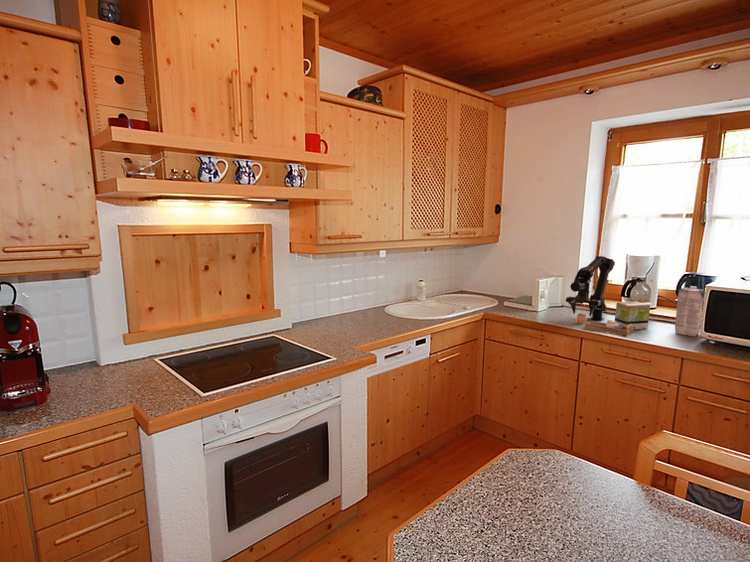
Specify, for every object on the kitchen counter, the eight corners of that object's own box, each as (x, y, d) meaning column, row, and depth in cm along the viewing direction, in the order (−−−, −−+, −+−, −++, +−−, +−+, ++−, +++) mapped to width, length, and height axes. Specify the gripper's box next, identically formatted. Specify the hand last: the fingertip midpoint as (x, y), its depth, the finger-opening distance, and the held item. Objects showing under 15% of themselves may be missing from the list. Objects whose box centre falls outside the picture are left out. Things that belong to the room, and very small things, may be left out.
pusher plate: (618, 330, 239) (619, 323, 239) (623, 331, 238) (624, 324, 237) (615, 333, 235) (615, 325, 234) (620, 334, 233) (620, 326, 232)
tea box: (627, 330, 240) (630, 305, 238) (613, 326, 250) (615, 302, 247) (648, 328, 244) (650, 304, 242) (633, 324, 254) (635, 300, 251)
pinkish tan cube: (578, 322, 260) (579, 312, 259) (587, 323, 256) (588, 314, 255) (574, 323, 256) (575, 314, 256) (584, 325, 253) (585, 315, 252)
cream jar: (607, 329, 243) (608, 319, 242) (617, 331, 239) (618, 321, 238) (604, 331, 239) (605, 321, 238) (614, 333, 235) (615, 322, 234)
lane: (590, 325, 252) (590, 317, 251) (632, 332, 236) (633, 324, 235) (584, 328, 245) (584, 320, 244) (627, 336, 229) (628, 327, 228)
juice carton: (695, 337, 226) (701, 288, 222) (672, 333, 234) (677, 286, 230) (700, 335, 231) (706, 286, 227) (678, 330, 239) (684, 284, 235)
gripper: (562, 289, 254) (561, 314, 257) (595, 293, 241) (593, 319, 243) (570, 287, 262) (568, 311, 264) (602, 291, 249) (600, 316, 251)
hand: (582, 314), depth 256 cm, fingers open, 9 cm apart
